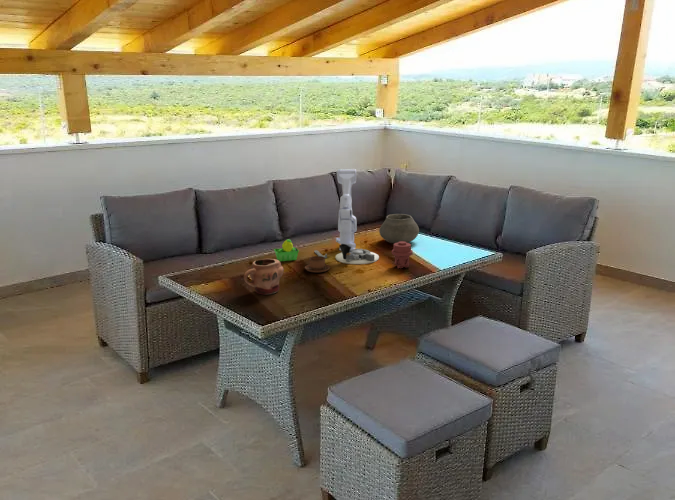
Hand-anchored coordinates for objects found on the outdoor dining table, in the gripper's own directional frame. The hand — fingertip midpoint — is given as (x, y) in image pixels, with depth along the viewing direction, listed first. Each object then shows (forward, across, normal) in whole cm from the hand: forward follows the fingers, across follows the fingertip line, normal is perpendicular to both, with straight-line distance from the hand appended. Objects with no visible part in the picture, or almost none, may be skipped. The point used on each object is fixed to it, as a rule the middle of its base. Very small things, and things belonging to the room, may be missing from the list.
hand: (345, 258), depth 302 cm
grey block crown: (0, -2, +7) cm, 7 cm away
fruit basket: (+2, -20, -22) cm, 30 cm away
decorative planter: (+1, +18, -55) cm, 58 cm away
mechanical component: (+2, +23, +17) cm, 29 cm away
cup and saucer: (+2, +4, -19) cm, 20 cm away
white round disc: (+2, -2, +9) cm, 9 cm away
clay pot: (+2, -14, +45) cm, 47 cm away
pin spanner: (+2, -18, -4) cm, 18 cm away
